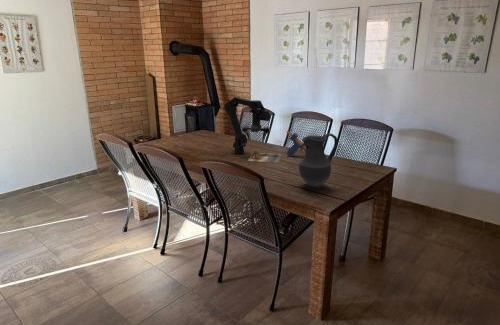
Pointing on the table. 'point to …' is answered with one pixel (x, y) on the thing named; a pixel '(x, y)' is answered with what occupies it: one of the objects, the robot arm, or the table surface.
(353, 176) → the table surface
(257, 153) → the brown block with peg
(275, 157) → the board
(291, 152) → the glue gun
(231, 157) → the table surface
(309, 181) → the pitcher
